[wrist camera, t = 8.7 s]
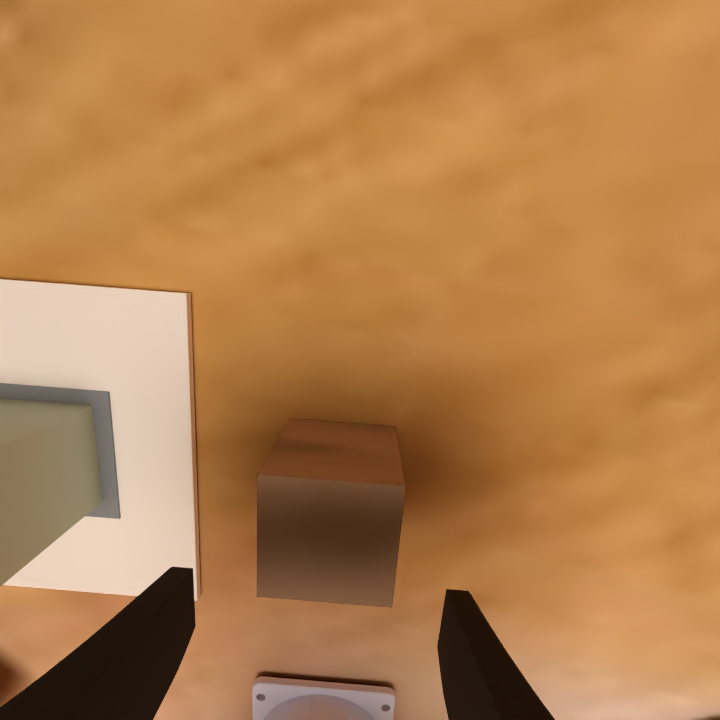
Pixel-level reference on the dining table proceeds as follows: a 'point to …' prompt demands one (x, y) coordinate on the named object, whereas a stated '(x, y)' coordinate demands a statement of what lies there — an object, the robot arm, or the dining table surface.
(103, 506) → the white flat board
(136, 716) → the robot arm
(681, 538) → the dining table surface
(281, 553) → the walnut block
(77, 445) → the sage block
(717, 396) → the dining table surface
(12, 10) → the dining table surface
